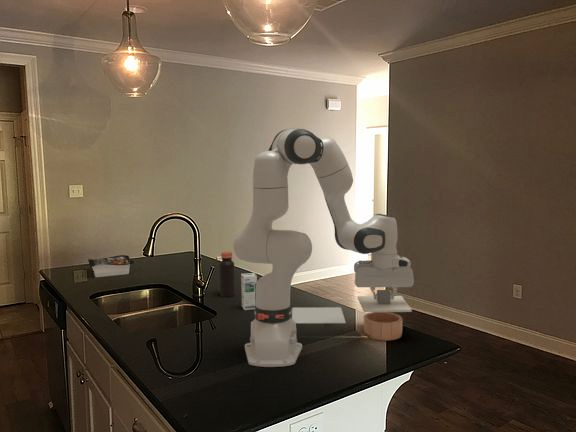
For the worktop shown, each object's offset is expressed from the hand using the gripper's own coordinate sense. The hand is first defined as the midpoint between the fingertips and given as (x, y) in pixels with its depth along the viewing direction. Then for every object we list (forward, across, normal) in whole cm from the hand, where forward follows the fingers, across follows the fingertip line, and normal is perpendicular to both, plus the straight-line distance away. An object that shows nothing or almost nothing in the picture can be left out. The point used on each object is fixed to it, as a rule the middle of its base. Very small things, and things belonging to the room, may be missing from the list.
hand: (383, 299), depth 170 cm
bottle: (+13, -62, +52) cm, 82 cm away
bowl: (+13, 0, 0) cm, 13 cm away
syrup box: (+13, -50, +32) cm, 61 cm away
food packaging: (+14, -135, +101) cm, 169 cm away
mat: (+13, -22, +19) cm, 32 cm away
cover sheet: (+2, 0, 0) cm, 2 cm away
